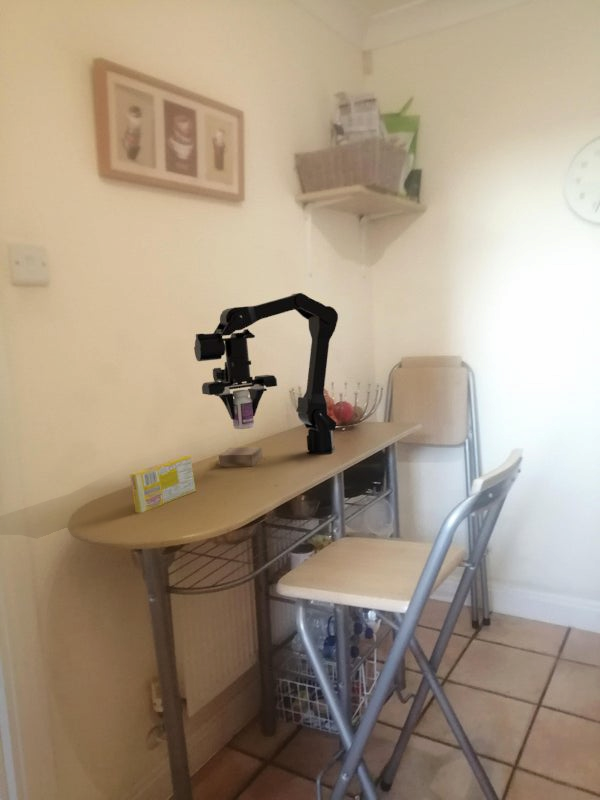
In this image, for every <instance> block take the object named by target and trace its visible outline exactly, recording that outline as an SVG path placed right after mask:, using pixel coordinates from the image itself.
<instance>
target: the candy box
mask: <svg viewBox="0 0 600 800" xmlns="http://www.w3.org/2000/svg"><path fill="white" fill-rule="evenodd" d="M129 475H130V482H131V489H132V496H133V504H134V509H135V510H134V511H135V513H139V514H142V513H144V512H147V511H150V510H152V509H155V508H157V507H159V506H161V505H166V504H168V503H169V502H172V501H175V500H177V499H179V498H183V497H184V496H187V495H190V494H192V493H195V492H197V491H196V484H195V477H194V476H195V475H194V470H193V463H192V456H191V455H185V456H182V457H178V458H176V459H172V460H171V461H167V462H163V463H161V464H158V465H155V466H151V467H149V468H145V469H143V470H140V471H136V472H133V473H131V474H129Z"/></svg>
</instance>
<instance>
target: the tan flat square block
mask: <svg viewBox="0 0 600 800" xmlns="http://www.w3.org/2000/svg"><path fill="white" fill-rule="evenodd" d="M261 459H263V449H262V446H249V447H248V446H247V447H246V446H244V447H229V448H228V449H226V450H225V451H223V452H221V453H220V454H218V461H219V467H223V468H224V467H225V468H226V467H253V466H255V465H256V464H257V463H258V462H259V461H261Z"/></svg>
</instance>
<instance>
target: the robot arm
mask: <svg viewBox="0 0 600 800" xmlns="http://www.w3.org/2000/svg"><path fill="white" fill-rule="evenodd" d="M294 310H295V311H296V312H297V313H298V314H299V315H300V316H302V317H303V318H304V319H305V320H308V330H309V334H310V337H311V338H310V339H311V343H310V353H309V362H308V363H309V364H308V372H307V381H306V382H307V383H306V391H305V393H304V395H303V397H301V396H298V397H297V408H296V413H297V416H298V419H299V421H300V422H302V423H303V424H304V426H305V428H306V429H308V430H307V433H308V434H307V435H306V444H307V451H308V452H307V454H309V455H311V454H313V455H314V454H316V455H317V454H318V455H319V454H333V452H334V451H335V449H336V446H334V432H333V431H335V430H336V427H337V421H335V420H334V419H333V418H332V417H331V416H329V414H328V404H327V400H326V396H325V385H326V383H325V382H326V374H327V373H326V372H327V365H328V356H329V348H330V340H331V338H332V336H333V335H334V332H335V331H336V327H337V324H338V320H339V314H338V312H337V310H336V309H335V308H334V307H332V306H330V305H328V306H327V305H324V304H323V303H321V302H320V301H317V300H314V299H313V298H311V297H310V296H308V295H306V294H304V293H303V292H299V293H298V292H297V293H292V294H291V295H289V296H285V297H282V298H281V297H280V298H278V299H274V300H271V301H267V302H263V303H259V304H256V305H248V306H246V305H245V306H237V307H229V308H226V309H223V310H222V311H221V314H220V316H219V323H218V324H217V326H216V328H215V329H214V331H213V333H196V334H195V340H194V347H193V348H194V356H195V359H196V361H198V362H207V361H215V360H221V359H222V357H223V356H225V360H226V361H225V362H224V369H222V368H221V367H214V368H213V369H212V377H213V378H212V379H213V381H209V382H208V381H207V382H206V381H205V382H203V383H202V386H201V392H202V394H203V395H207V396H213V395H214V396H215V397H218V398H220V400H221V402H222V403H223V405H224V406H225V409H226V410H227V413H228V415H229V417H230V420H232V421H233V420H234V416H235V413H234V401H233V399H234V397H233V392H232V393H231V390H236V389H243V388H247V390H248V393H249V398H251V400H252V407H253V417H255V416H256V413H257V409H258V406H259V403H260V401H261V398H262V397H263V394H264V392H266V391H267V390H268V389H267V388H272V387H278V380H277V377H276V376H275V375H274V374H272V375H271V374H262V375H255V376H254V378H253V376H251V371H250V370H251V368H250V366H251V365H252V360H250V358H249V348H248V339H254V338H255V337H256V335H255V334H253V333H252V332H251V331H250V330H249V328H248V327H250V326H251V325H253V324H255V323H256V322H259V321H260V320H263V319H267V318H269V317H274V316H277V315H280V314H284V313H287V312H290V311H294ZM245 328H246V329H245ZM241 330H243V331H242V332H236V331H241ZM224 336H225V337H224ZM226 336H230V337H226ZM223 337H224V338H223Z"/></svg>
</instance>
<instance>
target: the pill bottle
mask: <svg viewBox="0 0 600 800" xmlns="http://www.w3.org/2000/svg"><path fill="white" fill-rule="evenodd" d="M232 394H233V401H234V413H235V416H234V420H232V425H233V428H234V429H235V430H245V429H250V428H253V427H254V426H255V420H254V419H255V418H254V416H253V407H252V400H251V398H250V394H249V391H248V389H238V390H236V389H235V390H233V391H232Z"/></svg>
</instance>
